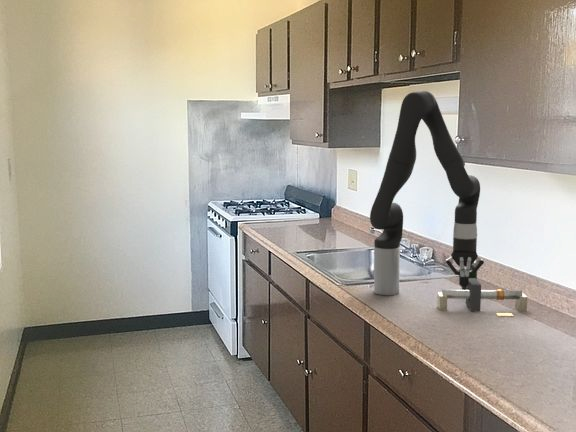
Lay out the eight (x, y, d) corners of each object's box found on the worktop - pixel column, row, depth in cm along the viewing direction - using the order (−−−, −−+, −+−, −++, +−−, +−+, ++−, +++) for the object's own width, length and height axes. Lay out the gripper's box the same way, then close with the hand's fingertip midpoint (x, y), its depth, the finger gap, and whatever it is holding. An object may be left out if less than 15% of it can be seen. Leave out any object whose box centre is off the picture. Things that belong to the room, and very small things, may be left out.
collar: (471, 311, 213) (471, 284, 212) (465, 303, 222) (466, 278, 221) (480, 311, 213) (481, 284, 212) (474, 303, 222) (475, 278, 221)
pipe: (442, 316, 210) (443, 295, 209) (437, 306, 221) (437, 287, 220) (532, 317, 208) (532, 296, 207) (522, 307, 219) (523, 287, 218)
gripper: (483, 234, 217) (481, 284, 220) (443, 234, 218) (441, 284, 221) (488, 238, 210) (486, 290, 212) (446, 238, 211) (445, 289, 213)
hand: (463, 286), depth 217 cm, fingers closed
